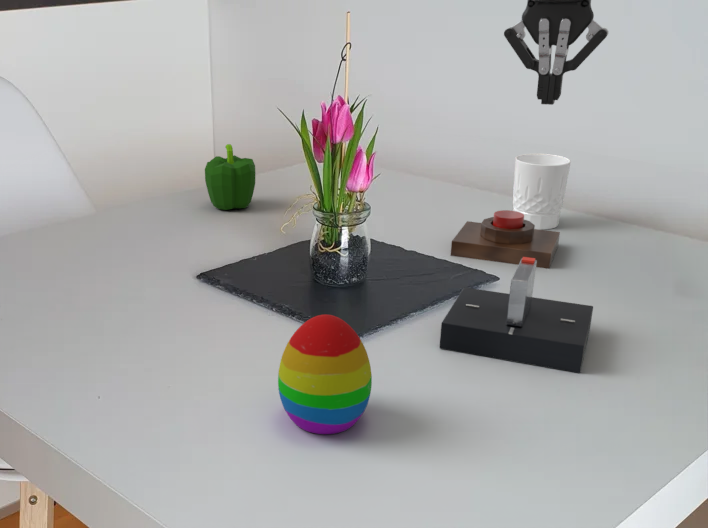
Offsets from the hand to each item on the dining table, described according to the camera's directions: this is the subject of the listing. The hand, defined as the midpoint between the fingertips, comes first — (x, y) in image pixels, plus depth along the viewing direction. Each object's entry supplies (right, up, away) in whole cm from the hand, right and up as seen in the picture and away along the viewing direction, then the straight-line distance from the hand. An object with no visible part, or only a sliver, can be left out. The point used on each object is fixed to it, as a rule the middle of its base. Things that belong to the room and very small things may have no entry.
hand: (548, 103), depth 109 cm
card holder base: (-10, -30, -19) cm, 37 cm away
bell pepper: (-42, -10, +29) cm, 52 cm away
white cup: (+5, -14, +19) cm, 24 cm away
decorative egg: (-32, -36, -34) cm, 59 cm away
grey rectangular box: (-10, -27, -20) cm, 35 cm away
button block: (-3, -19, +7) cm, 21 cm away
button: (-3, -15, +6) cm, 17 cm away
